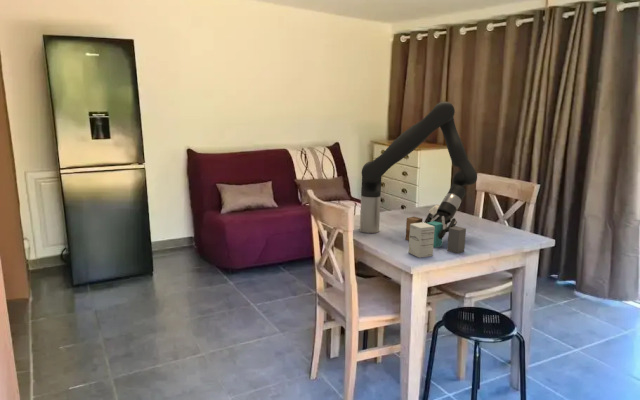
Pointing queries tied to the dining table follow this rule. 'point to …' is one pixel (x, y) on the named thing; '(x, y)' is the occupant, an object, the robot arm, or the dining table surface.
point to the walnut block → (411, 221)
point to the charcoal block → (456, 239)
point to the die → (434, 209)
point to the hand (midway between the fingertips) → (432, 236)
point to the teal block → (437, 233)
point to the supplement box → (421, 239)
